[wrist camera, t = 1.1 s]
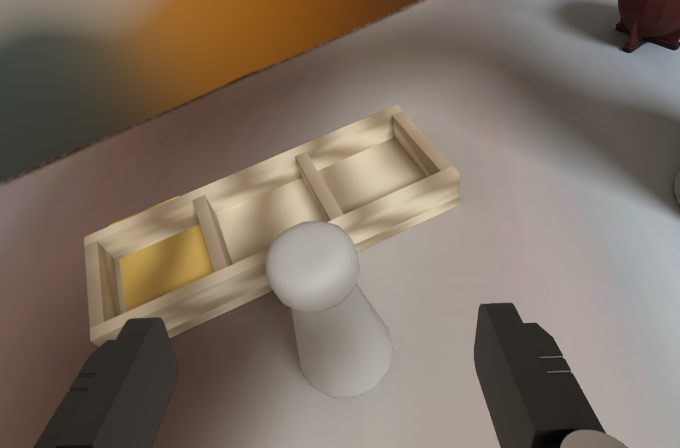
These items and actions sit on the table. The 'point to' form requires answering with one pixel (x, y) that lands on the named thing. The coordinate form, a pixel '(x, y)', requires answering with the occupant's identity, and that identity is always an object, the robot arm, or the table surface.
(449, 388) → the table surface
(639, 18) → the mate gourd
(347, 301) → the salt shaker
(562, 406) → the robot arm
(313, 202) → the tray
